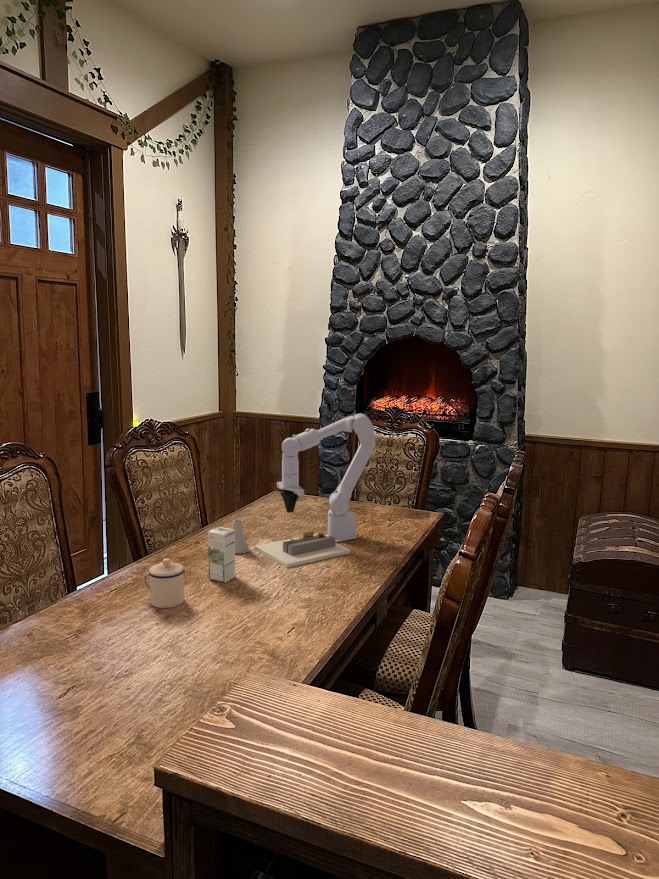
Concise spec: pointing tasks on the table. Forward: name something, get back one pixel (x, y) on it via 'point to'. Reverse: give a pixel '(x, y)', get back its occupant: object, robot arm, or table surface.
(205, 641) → the table surface
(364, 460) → the robot arm
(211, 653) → the table surface
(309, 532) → the block
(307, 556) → the hearth board
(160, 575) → the teacup with lid
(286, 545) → the block
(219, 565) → the syrup box
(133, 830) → the table surface
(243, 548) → the flask
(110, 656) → the table surface
